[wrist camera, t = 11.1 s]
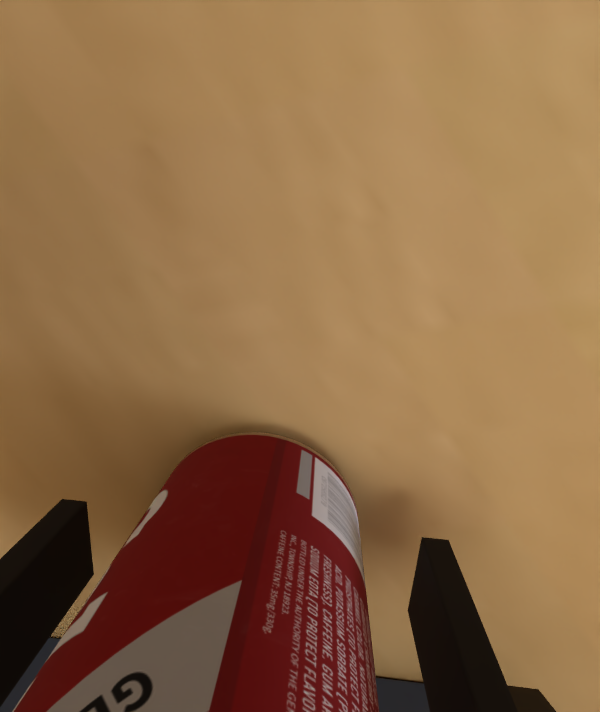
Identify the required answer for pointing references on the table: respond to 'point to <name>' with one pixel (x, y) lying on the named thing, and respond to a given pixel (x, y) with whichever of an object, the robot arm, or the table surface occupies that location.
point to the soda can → (226, 596)
